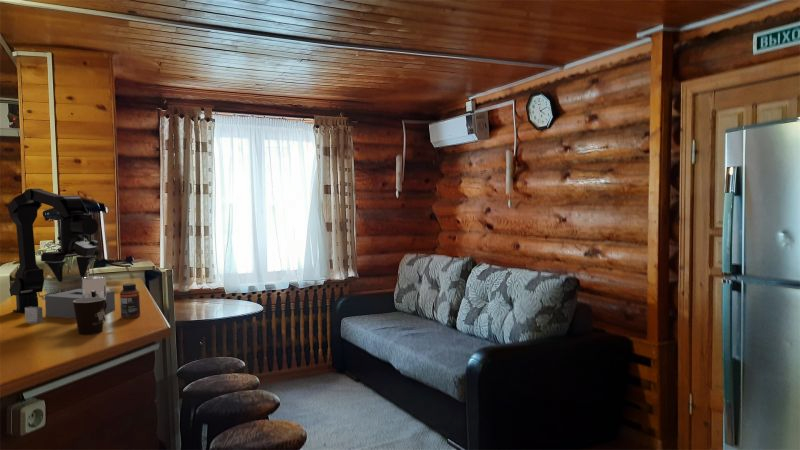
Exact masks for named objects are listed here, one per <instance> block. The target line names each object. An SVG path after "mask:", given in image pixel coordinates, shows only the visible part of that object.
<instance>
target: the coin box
mask: <svg viewBox="0 0 800 450" xmlns="http://www.w3.org/2000/svg"><path fill="white" fill-rule="evenodd" d="M115 295H116V294H115V290H107V289H106V300H105V301H106V304H107V306H106V310H105V312H104V314H107V313H111V312H113V311H114V312H115V310H116V302H115V300H116V299H115V298H116V297H115ZM81 298H83V295H82V288H76V289H72V290H71V289H70V290H66V291H63V292H57V293H53V294H47V295H44V301H45V306H44V307H45V317H52V318H54V317H55V318H64V319H76V315H75V310H74V304H73V301H74V300H77V299H81Z"/></svg>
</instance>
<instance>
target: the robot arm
mask: <svg viewBox="0 0 800 450" xmlns="http://www.w3.org/2000/svg"><path fill="white" fill-rule="evenodd" d="M43 205H47V206H50V207H52V208H53V210H54V211H55V212H56V213H59V214H58V215H57V216H56V217H55V220H59V228H60V229H59V232H60V234H59V235H60V236H57V241H60V248H58V249H57V251H45V252H42V254H41V255H40V261H41V262H43V263H44V264H46V265H47V266H48V267H49V269H50V271H52V273H53V275H54V276H55V278H56V279H57V281H58V282H59V283H63V276H64V275H63V274H64V273H63V269H64V268H63V267H64V265H65V264H66V261H64V260H65V259H66V258H72V257H73V258H74V257H76V258H75V259H76V263H77V267H78V272H79V273H78V274H79V276H80V278H83V277H86V273H87V271H88V267H89V265H90V263H91V261H92V260H93V259H96V257H97V256H99V242H98V241H97V240H89V241H85V238H84V236H92V235H95V234H96V233H97V231H98V229H99V224H98V222H97V220H96V219H95V218H94V217H93V215H92V213H91V214H90V213H89V210H88V209H87V206H85V204H84V201H83V200H82V198H81V197H80V196H79V195H61V194H58V193H54V192H51V191H47V190H44V189H43V188H27V189H26V190H25V191H23V193H20V194H19V195H17V196H15V197H13V198H12V200H11V201H10V202H9V203H8V205H7V210H8V214H9V218H10V219H11V221H12V222H13V224H15V228H16V236H17V249H18V250H17V251H18V260H19V267H18V268H17V270H16V271H15V274H14V281H13V282H12V284H11V286H10V287H9V293H10V296H15V301H16V308H15V309H12V312H16V313H25V307H30V306H32V307H39V297H38V293H42V292H43V290H44V284H45V275H44V273H45V271H44V269H43V268H40V267H39V266H38V264H37V258H36V247H35V246H36V244H35V235H34V233H35V232H34V223H35V221H36V219H37V218H38V211H39V209H40V208H41V207H42V206H43ZM83 235H84V236H83Z"/></svg>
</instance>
